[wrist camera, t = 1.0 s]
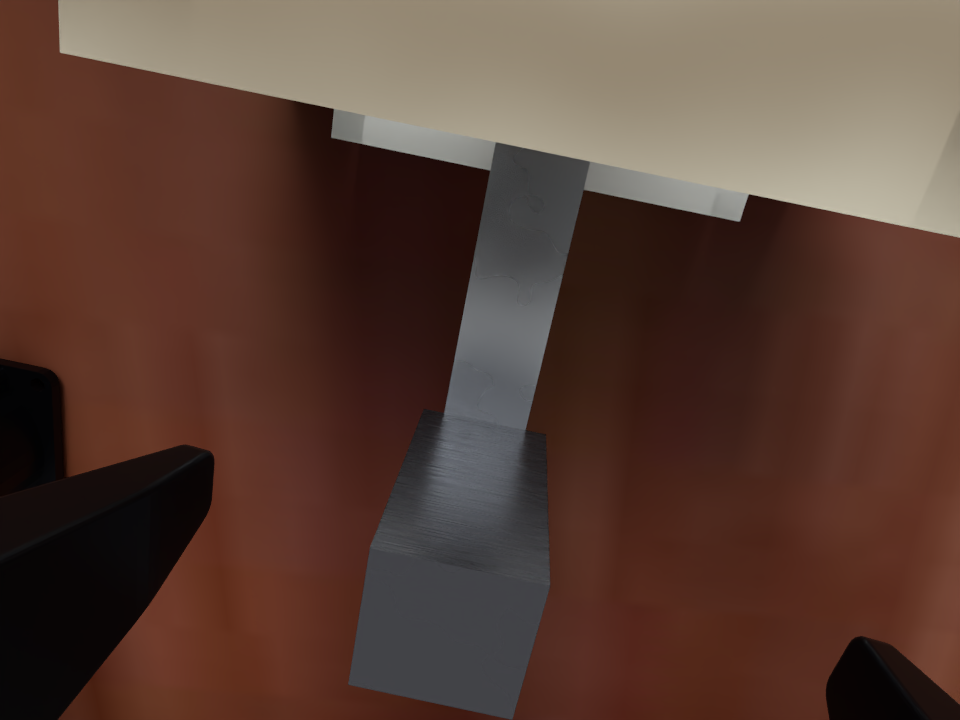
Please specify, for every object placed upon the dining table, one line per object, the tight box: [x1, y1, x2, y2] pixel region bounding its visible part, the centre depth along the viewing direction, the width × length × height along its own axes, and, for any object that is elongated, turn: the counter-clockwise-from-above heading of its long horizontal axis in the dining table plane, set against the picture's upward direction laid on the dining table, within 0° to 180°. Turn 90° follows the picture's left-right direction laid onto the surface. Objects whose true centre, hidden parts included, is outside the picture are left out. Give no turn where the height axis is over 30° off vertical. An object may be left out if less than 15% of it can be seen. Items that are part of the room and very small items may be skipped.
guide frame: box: [58, 0, 960, 237], centre depth 14 cm, size 3×15×10 cm, turn 79°
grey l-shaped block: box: [348, 142, 590, 720], centre depth 12 cm, size 18×3×8 cm, turn 169°
